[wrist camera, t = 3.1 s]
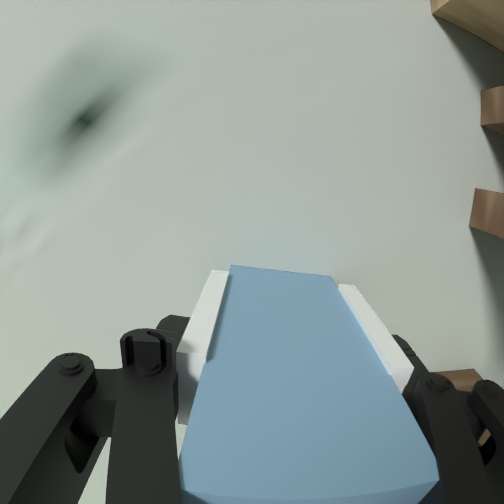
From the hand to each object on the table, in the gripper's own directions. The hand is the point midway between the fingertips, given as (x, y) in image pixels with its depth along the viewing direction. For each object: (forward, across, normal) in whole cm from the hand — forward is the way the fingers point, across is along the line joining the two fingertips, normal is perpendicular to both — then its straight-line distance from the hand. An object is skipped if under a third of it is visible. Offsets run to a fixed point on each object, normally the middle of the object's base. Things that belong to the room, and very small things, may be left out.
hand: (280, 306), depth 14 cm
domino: (+2, 0, 0) cm, 2 cm away
